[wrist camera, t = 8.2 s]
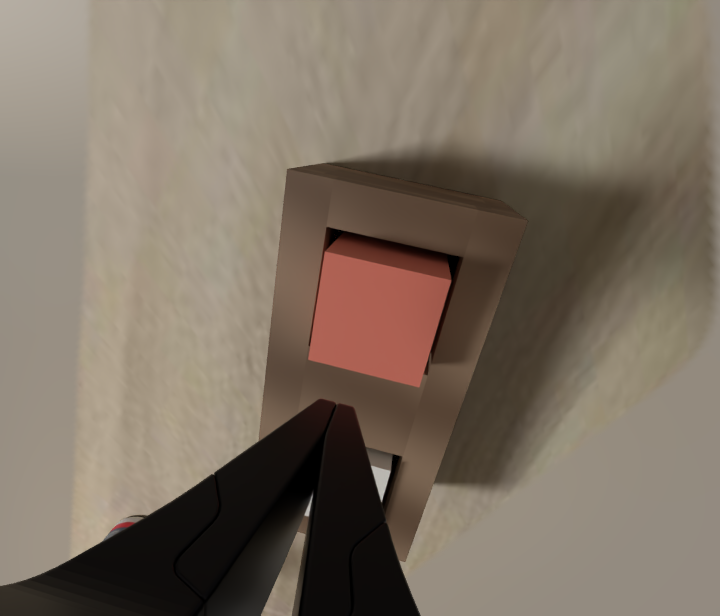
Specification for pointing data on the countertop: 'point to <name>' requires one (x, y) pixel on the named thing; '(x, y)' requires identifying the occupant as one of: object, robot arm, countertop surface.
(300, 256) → the socket block
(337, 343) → the red plug
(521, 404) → the countertop surface
